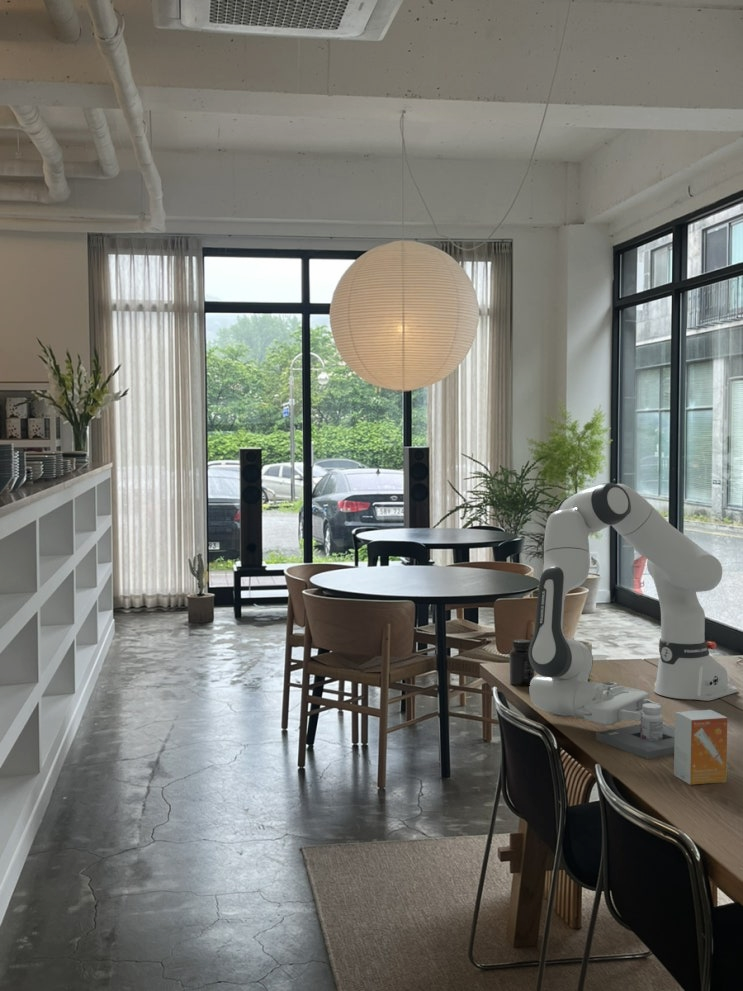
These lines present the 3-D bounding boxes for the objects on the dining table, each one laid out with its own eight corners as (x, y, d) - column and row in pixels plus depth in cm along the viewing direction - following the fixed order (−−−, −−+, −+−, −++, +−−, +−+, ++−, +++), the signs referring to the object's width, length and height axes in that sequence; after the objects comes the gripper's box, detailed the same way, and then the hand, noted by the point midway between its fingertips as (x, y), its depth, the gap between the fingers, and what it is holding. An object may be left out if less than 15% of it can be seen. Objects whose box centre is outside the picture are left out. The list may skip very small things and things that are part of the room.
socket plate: (654, 728, 231) (654, 721, 231) (708, 746, 217) (708, 738, 217) (596, 739, 222) (596, 732, 222) (648, 759, 208) (648, 751, 208)
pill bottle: (637, 740, 222) (637, 702, 221) (657, 739, 222) (658, 702, 222) (644, 746, 217) (645, 708, 216) (665, 745, 217) (666, 708, 217)
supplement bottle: (533, 680, 277) (533, 638, 277) (535, 686, 271) (535, 643, 270) (508, 680, 278) (509, 638, 277) (510, 686, 271) (510, 643, 271)
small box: (690, 786, 192) (691, 719, 191) (673, 775, 198) (673, 711, 197) (727, 782, 194) (728, 717, 193) (709, 772, 200) (710, 708, 199)
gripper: (572, 697, 220) (629, 708, 211) (614, 680, 236) (670, 689, 227) (572, 725, 221) (629, 737, 212) (614, 706, 236) (669, 716, 227)
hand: (650, 712), depth 219 cm, fingers open, 8 cm apart
